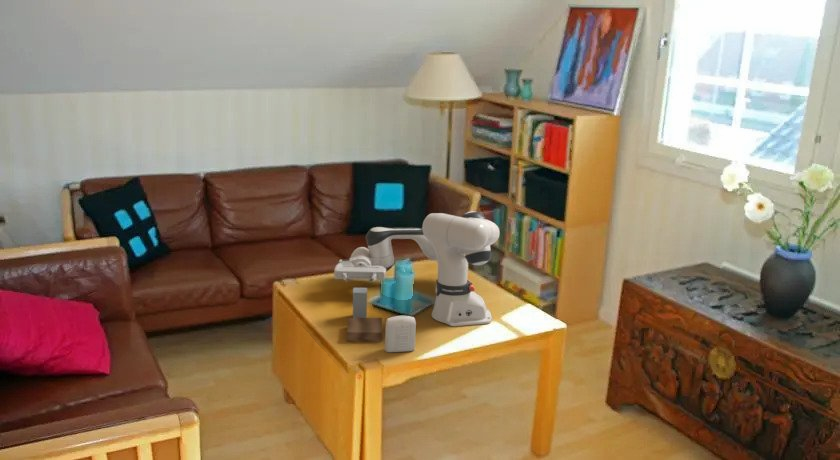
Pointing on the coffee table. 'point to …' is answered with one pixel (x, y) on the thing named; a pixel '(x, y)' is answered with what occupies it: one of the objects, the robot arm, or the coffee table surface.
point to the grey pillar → (359, 302)
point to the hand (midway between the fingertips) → (359, 279)
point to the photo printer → (400, 334)
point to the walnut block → (364, 330)
